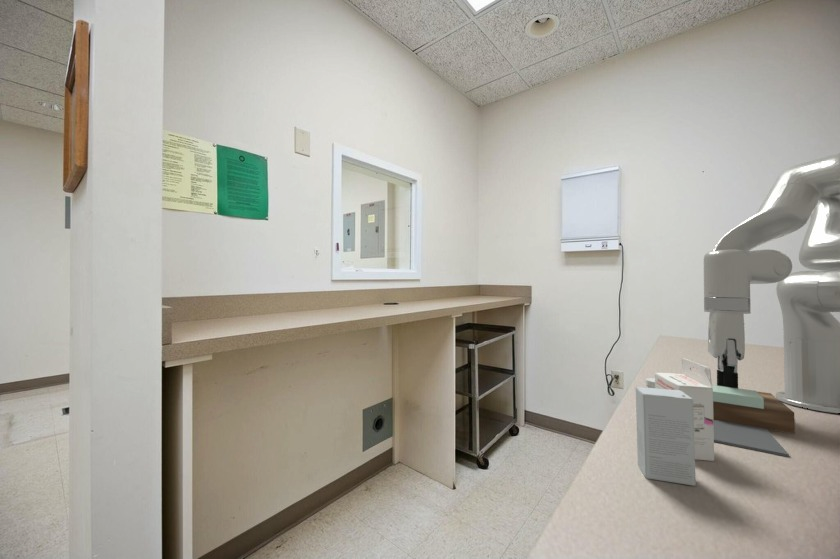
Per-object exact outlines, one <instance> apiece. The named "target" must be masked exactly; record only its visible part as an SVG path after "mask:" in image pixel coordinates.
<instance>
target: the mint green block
mask: <svg viewBox="0 0 840 559" xmlns="http://www.w3.org/2000/svg"><path fill="white" fill-rule="evenodd" d="M712 388H713V401H715V402H722V403H728V404H735V405H741V406H748V407H754V408H761V409H764V398H763V397H762V396H761V395H760V394H759V393H758V392H759V391H757V390H752V389H747V388H746V389H744V388H739V387H738V388H731V387H723V386H717V384H716V385H715V384H712Z"/></svg>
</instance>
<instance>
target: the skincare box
mask: <svg viewBox="0 0 840 559" xmlns="http://www.w3.org/2000/svg"><path fill="white" fill-rule="evenodd" d="M635 413H636V443H637V444H636V448H637V451H636V453H637V465H638V468H639V469H640V470H641V472H642V474H643V475H644V477H645V479H646V480H647V479H648V480H655V481H660V482H661V481H662V482H668V483H674V484H681V485H687V486H692V487H695V486H696V484H697V482H696V459H695V443H694V414H693V399H692V398H691V397H689V396H688V395H687V394H685V393H684V392H682V391H680V390H669V389H657V388H646V387H642V386H636V387H635Z"/></svg>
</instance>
